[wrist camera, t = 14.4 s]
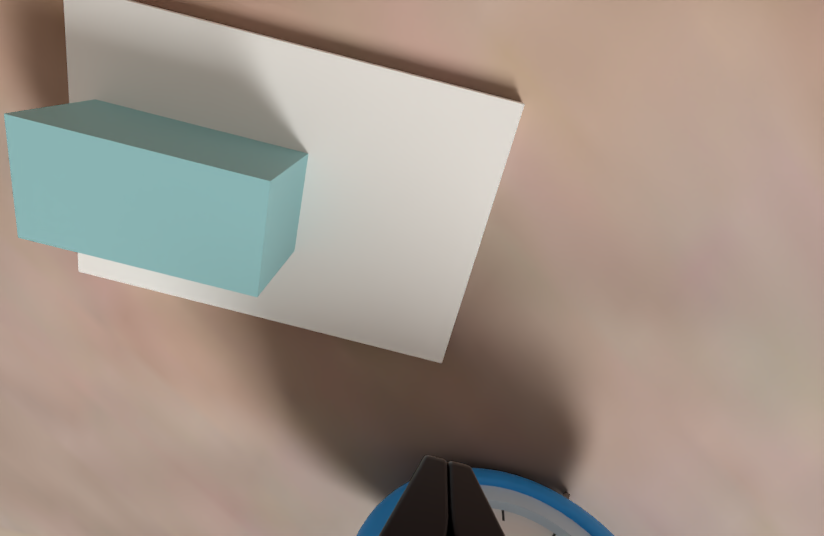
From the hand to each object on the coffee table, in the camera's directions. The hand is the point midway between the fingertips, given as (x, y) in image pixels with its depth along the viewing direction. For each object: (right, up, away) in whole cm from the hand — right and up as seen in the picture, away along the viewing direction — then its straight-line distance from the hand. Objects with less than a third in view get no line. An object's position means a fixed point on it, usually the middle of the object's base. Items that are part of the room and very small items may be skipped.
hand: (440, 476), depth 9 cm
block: (-5, +5, +8) cm, 11 cm away
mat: (-6, +7, +11) cm, 14 cm away
